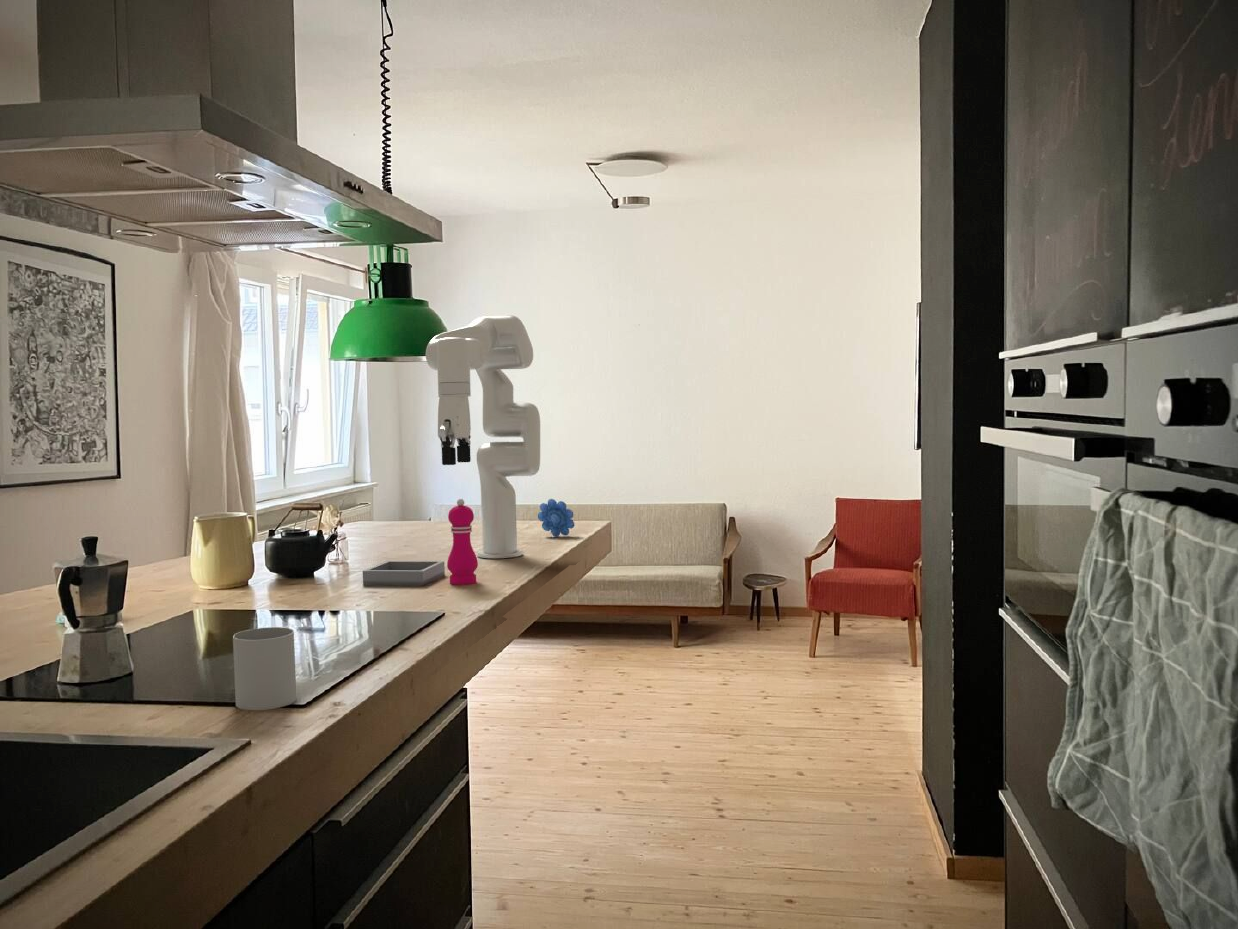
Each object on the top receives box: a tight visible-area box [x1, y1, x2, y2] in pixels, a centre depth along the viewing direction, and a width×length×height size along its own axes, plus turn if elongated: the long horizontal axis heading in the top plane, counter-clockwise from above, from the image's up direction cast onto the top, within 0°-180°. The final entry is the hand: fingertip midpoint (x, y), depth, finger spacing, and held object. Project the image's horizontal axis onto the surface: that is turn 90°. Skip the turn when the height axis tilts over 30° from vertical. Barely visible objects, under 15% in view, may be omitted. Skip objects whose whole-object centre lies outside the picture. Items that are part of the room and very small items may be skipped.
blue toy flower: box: [537, 498, 575, 537], centre depth 324 cm, size 12×7×12 cm, turn 87°
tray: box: [362, 560, 446, 587], centre depth 251 cm, size 15×15×4 cm
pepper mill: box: [446, 498, 479, 586], centre depth 245 cm, size 7×7×20 cm
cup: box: [232, 626, 297, 711], centre depth 150 cm, size 8×8×10 cm
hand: (456, 463), depth 243 cm, fingers open, 9 cm apart
